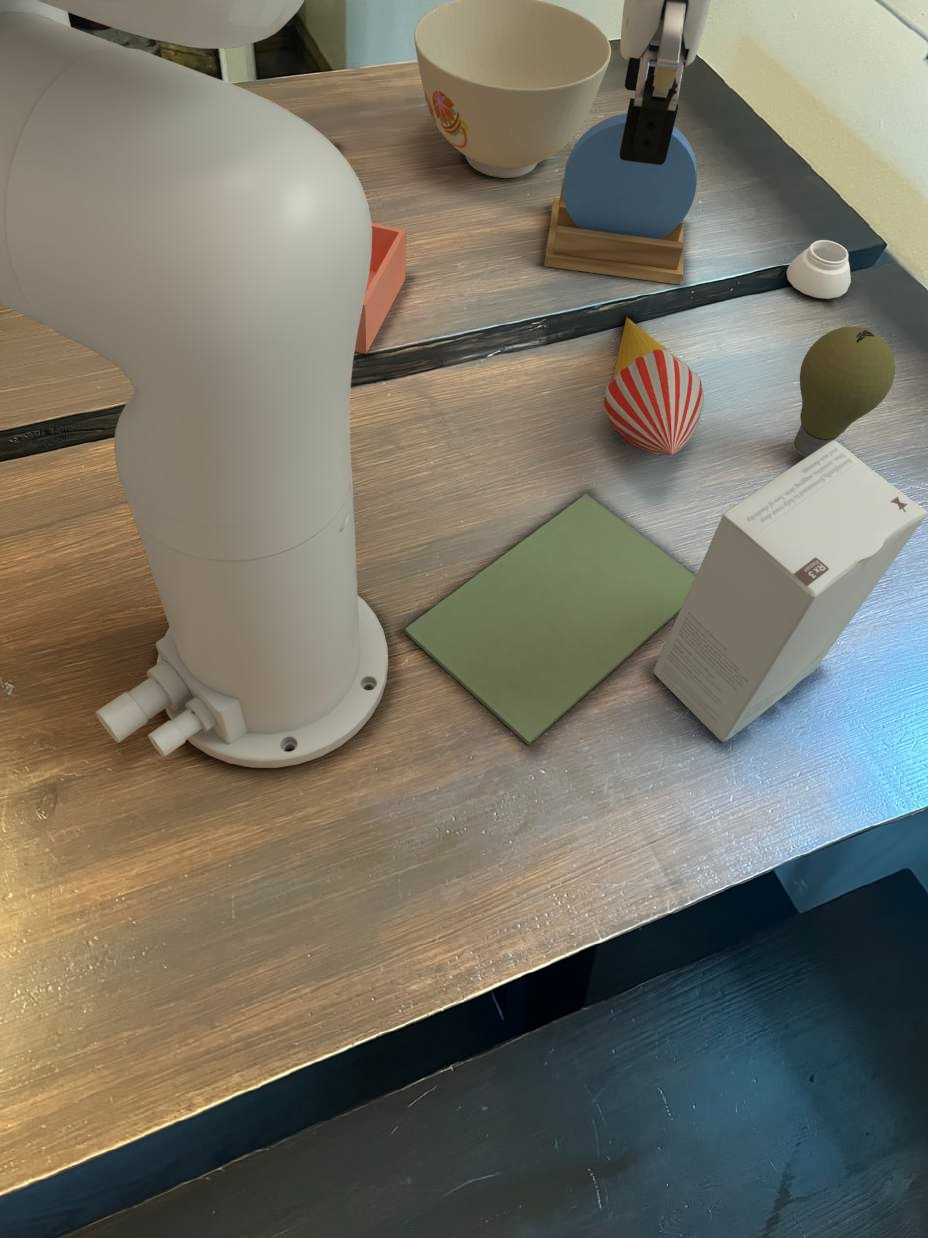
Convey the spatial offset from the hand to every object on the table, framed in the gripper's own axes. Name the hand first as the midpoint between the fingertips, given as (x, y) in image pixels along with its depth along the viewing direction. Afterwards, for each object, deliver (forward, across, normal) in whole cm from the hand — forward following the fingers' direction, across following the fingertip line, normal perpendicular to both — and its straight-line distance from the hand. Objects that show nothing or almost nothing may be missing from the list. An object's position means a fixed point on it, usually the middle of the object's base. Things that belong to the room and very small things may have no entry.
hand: (643, 123), depth 70 cm
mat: (+10, +37, -2) cm, 38 cm away
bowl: (+11, -12, -11) cm, 20 cm away
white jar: (+11, 0, +16) cm, 20 cm away
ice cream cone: (+11, +18, +3) cm, 21 cm away
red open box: (+11, +10, -26) cm, 30 cm away
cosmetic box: (+11, +40, +8) cm, 42 cm away
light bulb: (+11, +20, +14) cm, 27 cm away
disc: (+4, 0, 0) cm, 4 cm away
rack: (+11, -1, 0) cm, 11 cm away
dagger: (+11, -5, -26) cm, 29 cm away
